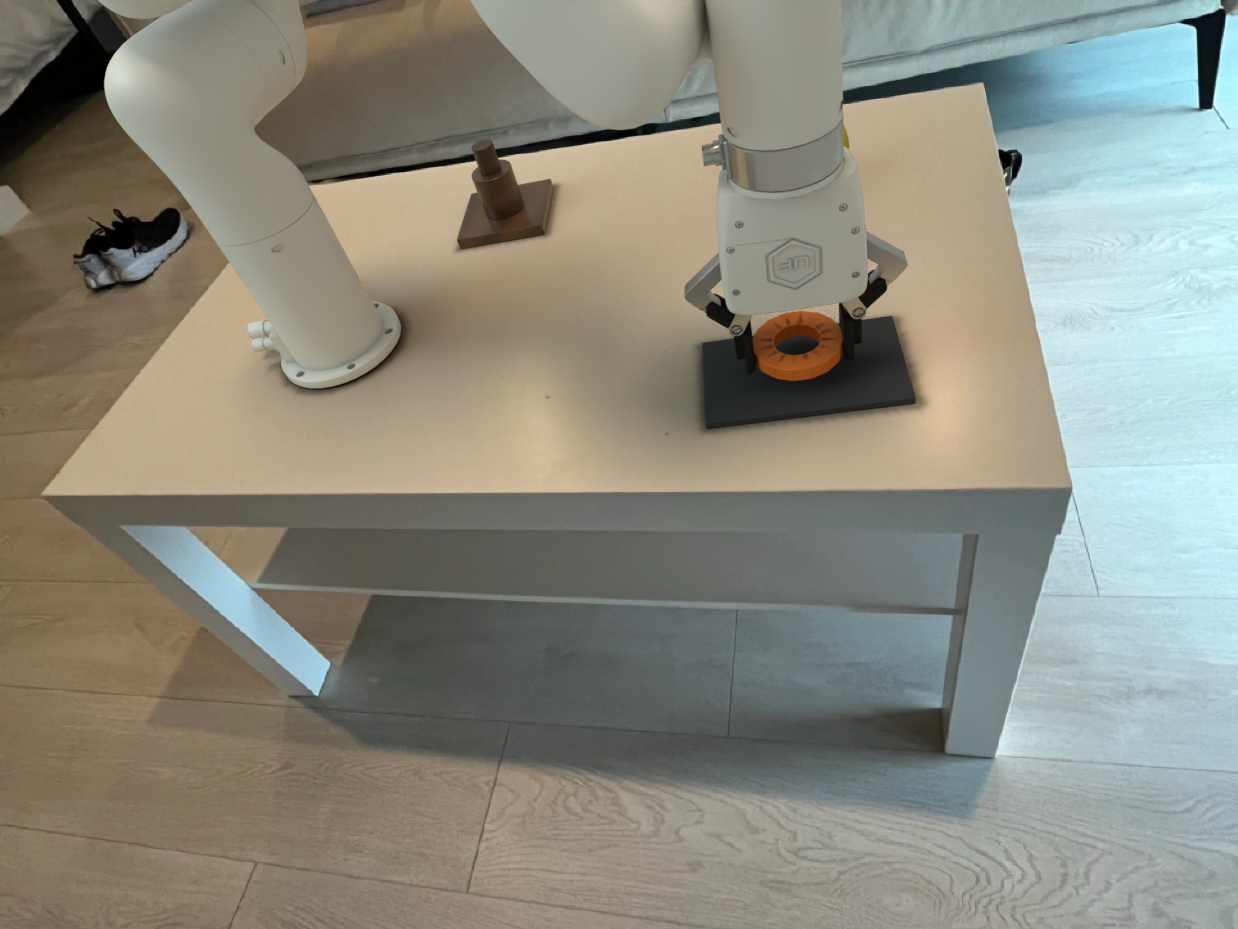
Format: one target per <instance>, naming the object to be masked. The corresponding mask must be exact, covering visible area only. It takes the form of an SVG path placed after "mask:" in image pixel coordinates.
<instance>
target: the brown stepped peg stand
mask: <svg viewBox="0 0 1238 929" xmlns="http://www.w3.org/2000/svg"><path fill="white" fill-rule="evenodd" d="M471 152H472V154H473V157H474V159H475V162H476V165H477V167H475V168H474V170H472V172H471V181H472V182H473V185H474V188H475V190H476V192H473V193H470V197H469V200H468V203H467V205H466V209H465V211H464V212H465V213H464V216H463V219H462V222H461V225H460V229H459V232H458V235H457V238H456V241H457V244H458V246H459V249H460V250H463V249H466V248H467V249H469V248H473V247H479V246H484V245H490V244H496V243H502V242H507V241H514V240H518V239H519V240H520V239H524V238H529V237H536V236H542V235H545V234H546V229H547V224H548V218H549V213H550V208H551V202H552V197H553V192H554V185H553V181H552V179H551V178H546V179H542V180H537V181H536V180H535V181H531V182H526V183H520V184H518V181H517V179H516V175H515V172H514V169H513V166H512V163H511V162H510V160H507V159H499V156H498V153H497V150H496V147H495V144H494V142H493V140H492V139H489V138H487V139H486V138H483V139H481V140H480V139H479V140H478V141H476V142H474V143H473V144H472V145H471Z"/></svg>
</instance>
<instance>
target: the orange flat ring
mask: <svg viewBox="0 0 1238 929" xmlns="http://www.w3.org/2000/svg"><path fill="white" fill-rule="evenodd" d="M800 335H801V336H809V337H811V338H813V339H815V340H817V341H818V342H819V345H818V346H817V347H816V348H815V349H814V350H813V351H810V352H808V353H806V354H801V355H788V354H784V353H782V352H780V351H778V350H777V349H776V347H777V345H778V344H779V343H780V342H781V341H782V340H784V339H787V338H789V337H793V336H800ZM753 348H754V357H755V363H756V365H757V366H758V367H759V368H760V370H761V371H762V372H764V373H766V374H768V375H770V376H772V377H774V378H776V379H782V380H789V381H799V380H806V379H811V378H815V377H817V376H819V375H822V374H824V373H826V372H827V371H829V370H830V369H831V368H833V367H834V366H835V365H836V364H837V363H838V362H839V361H840V358H841V356H842V353H843V337H842V333H841V328H840V326H839V325H838V324H837V322H836V321H835V320H834V319H833V318H832V317H830V316H827V315H825V314H823V313H820V312H816V311H805V310H798V311H797V310H796V311H791V312H790V311H789V312H785V313H782V314H780V315H777V316H774V317H772V318H770V319H769V320H767V321H766V322H764V323H763V324H762V325H761V326H759V327H758V328H757V329H756V331H755V333H754V337H753Z"/></svg>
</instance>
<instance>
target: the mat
mask: <svg viewBox="0 0 1238 929" xmlns="http://www.w3.org/2000/svg"><path fill="white" fill-rule="evenodd" d="M836 323H837V322H836ZM837 324H838V325H839V322H838V323H837ZM754 335H755V334H754ZM754 335H753V334H752V338H753V337H754ZM818 345H819V342H818V341H817V340H815V339H813V338H811V337H809V336H801V335H800V336H793V337H789V338H787V339H784V340H782V341H781V342H780V343H779V344H778V345H777V347H776V349H777V350H778V351H780V352H782V353H784V354H788V355H801V354H806V353H808V352H810V351H813V350H814V349H815V348H816V347H817V346H818ZM701 346H702V347H701V348H702V374H703V375H702V376H703V395H704V396H703V400H704V424H705V428H706V429H714V428H721V427H731V426H732V427H733V426H740V425H749V424H755V423H763V422H771V421H772V422H773V421H779V420H787V419H796V418H804V417H811V416H821V415H829V414H836V413H837V414H838V413H845V412H852V411H863V410H869V409H877V408H885V407H894V406H900V405H901V406H902V405H910V404H916V399H917V398H916V394H915V390H914V387H913V383H912V379H911V376H910V373H909V369H908V366H907V362H906V358H905V356H904V353H903V349H902V346H901V342H900V339H899V335H898V332H897V328H896V325H895V321H894V317H893V315H886V316H878V317H873V318H872V317H871V318H866V319H865V318H864V319H862V343H860V344H854V360H850V361H847V359H844V356H843V353H842V356H841V358H840V361H839V362H838V363H837V364H836V365H835V366H834V367H833V368H831V369H830V370H829V371H827V372H826V373H824V374H822V375H819V376H817V377H815V378H811V379H806V380H799V381H789V380H782V379H776V378H774V377H772V376H770V375H768V374H766V373H764V372H762V371H761V370H760V368H759V367H758V366H757V365H756V363H755V365H756V371H754V373H750V374H747V366H746V359H740V360H737V357H736V350H735V343H734V337H733V338H725V339H718V340H711V341H705V342H702V344H701Z"/></svg>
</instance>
